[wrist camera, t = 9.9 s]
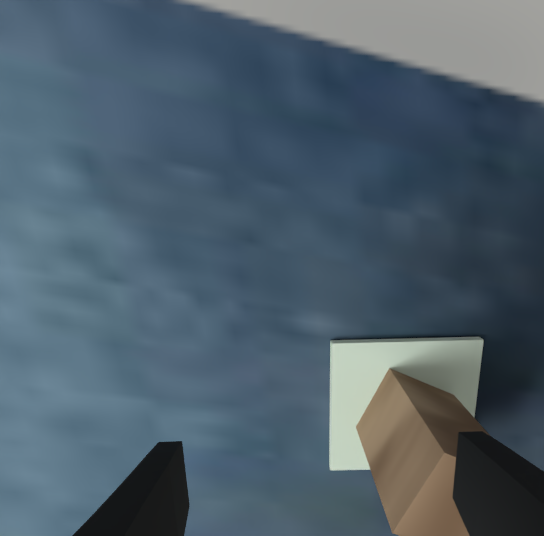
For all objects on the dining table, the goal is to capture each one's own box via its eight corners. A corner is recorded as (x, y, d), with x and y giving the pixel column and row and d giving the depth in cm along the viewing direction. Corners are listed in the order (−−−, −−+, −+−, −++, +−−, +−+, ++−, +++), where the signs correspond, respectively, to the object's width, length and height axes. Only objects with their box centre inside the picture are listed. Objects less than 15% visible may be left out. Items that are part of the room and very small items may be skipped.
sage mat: (479, 336, 18) (483, 339, 18) (464, 462, 20) (468, 467, 19) (330, 340, 18) (331, 343, 18) (329, 465, 20) (330, 470, 20)
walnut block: (453, 394, 18) (537, 489, 13) (418, 451, 19) (481, 565, 13) (389, 368, 18) (444, 452, 12) (355, 427, 19) (392, 532, 13)
